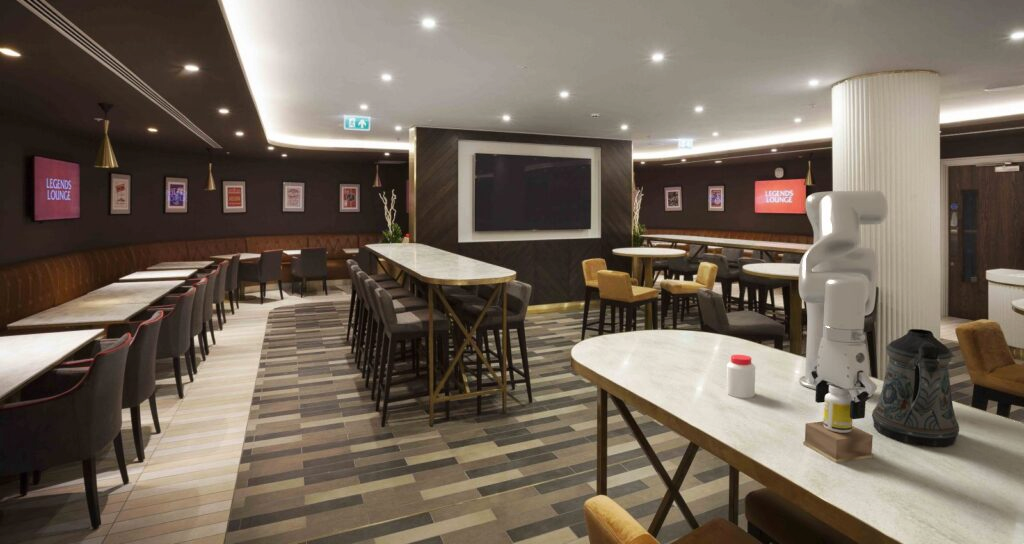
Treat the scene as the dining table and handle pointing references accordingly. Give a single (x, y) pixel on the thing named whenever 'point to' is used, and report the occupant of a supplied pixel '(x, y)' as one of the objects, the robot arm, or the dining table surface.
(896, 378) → the patterned ceramic jug
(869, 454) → the walnut riser
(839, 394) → the supplement bottle
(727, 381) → the pill bottle
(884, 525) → the dining table surface
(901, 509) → the dining table surface
